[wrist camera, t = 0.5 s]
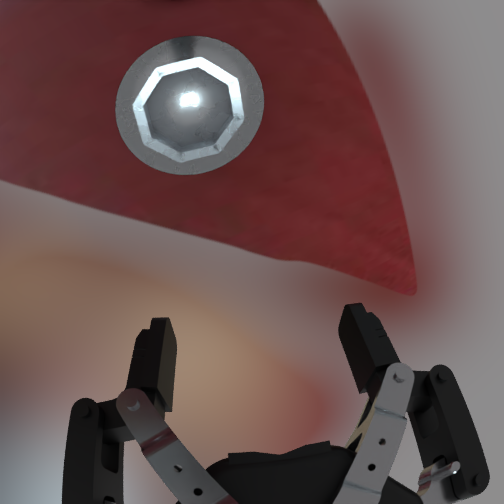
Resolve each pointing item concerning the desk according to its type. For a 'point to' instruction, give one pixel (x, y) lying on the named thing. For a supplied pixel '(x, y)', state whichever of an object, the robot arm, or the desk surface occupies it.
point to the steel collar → (189, 105)
